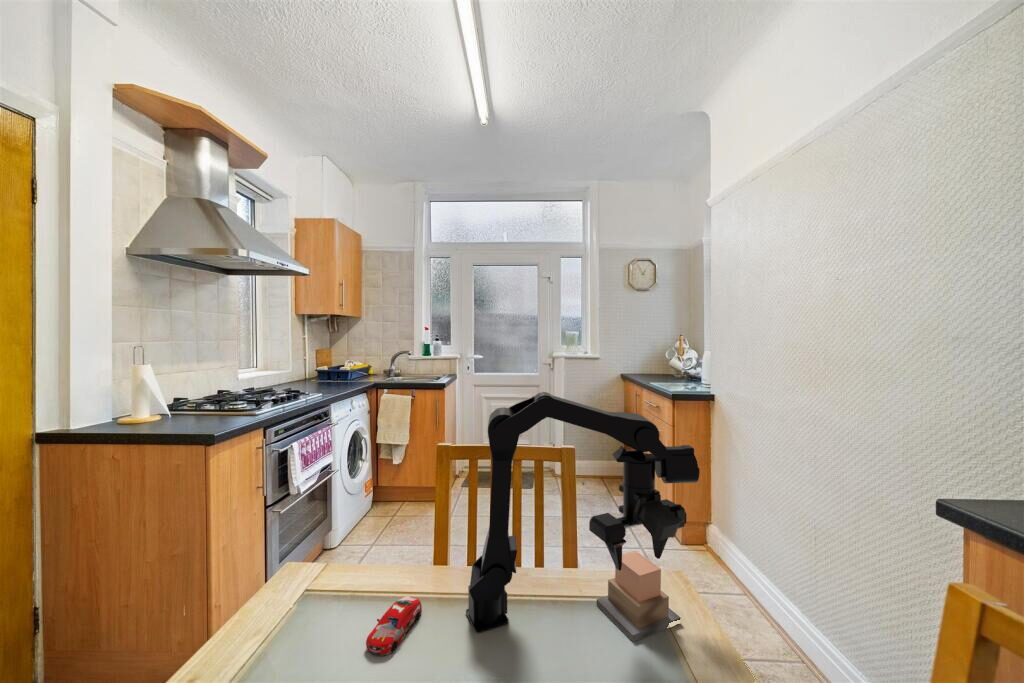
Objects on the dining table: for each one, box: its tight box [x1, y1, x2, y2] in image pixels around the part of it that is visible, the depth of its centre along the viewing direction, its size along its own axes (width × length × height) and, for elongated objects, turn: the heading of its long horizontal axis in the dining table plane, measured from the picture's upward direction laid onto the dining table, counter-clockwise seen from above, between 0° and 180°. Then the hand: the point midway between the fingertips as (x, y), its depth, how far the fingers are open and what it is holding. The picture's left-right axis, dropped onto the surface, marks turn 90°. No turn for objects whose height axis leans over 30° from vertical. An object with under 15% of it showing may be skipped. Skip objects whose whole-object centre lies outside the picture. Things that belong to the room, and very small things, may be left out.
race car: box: [365, 595, 423, 656], centre depth 83 cm, size 13×5×4 cm, turn 161°
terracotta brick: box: [614, 550, 662, 602], centre depth 87 cm, size 5×7×5 cm
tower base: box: [596, 577, 682, 642], centre depth 87 cm, size 11×11×5 cm
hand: (638, 563), depth 87 cm, fingers open, 9 cm apart
